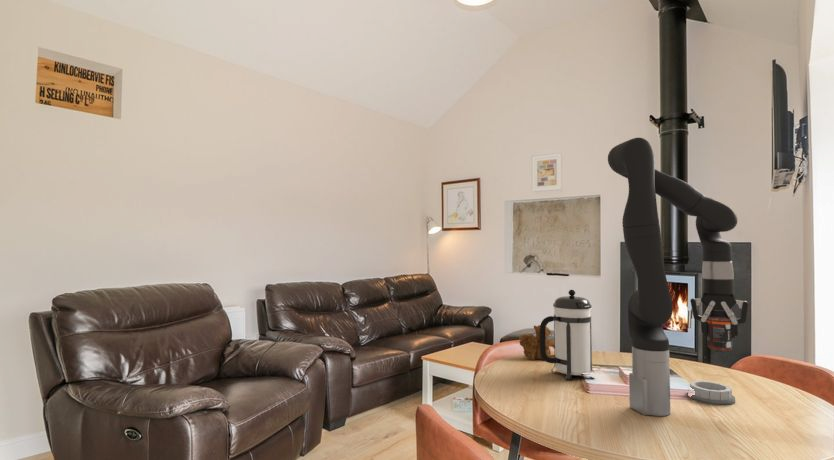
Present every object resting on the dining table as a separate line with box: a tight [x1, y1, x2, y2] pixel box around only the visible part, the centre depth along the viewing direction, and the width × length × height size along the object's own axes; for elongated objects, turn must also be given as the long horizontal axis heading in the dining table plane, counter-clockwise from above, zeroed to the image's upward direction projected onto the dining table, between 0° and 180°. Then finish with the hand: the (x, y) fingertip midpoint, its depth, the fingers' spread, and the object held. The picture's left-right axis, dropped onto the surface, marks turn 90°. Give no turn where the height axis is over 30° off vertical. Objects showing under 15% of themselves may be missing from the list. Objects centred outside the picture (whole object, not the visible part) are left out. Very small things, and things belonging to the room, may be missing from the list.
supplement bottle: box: [706, 310, 734, 352], centre depth 129 cm, size 6×6×11 cm
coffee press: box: [539, 289, 594, 382], centre depth 158 cm, size 17×16×30 cm
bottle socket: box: [689, 380, 736, 406], centre depth 135 cm, size 12×12×4 cm
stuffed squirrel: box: [518, 324, 555, 361], centre depth 182 cm, size 10×14×13 cm
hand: (719, 335), depth 129 cm, fingers closed on supplement bottle, 6 cm apart
